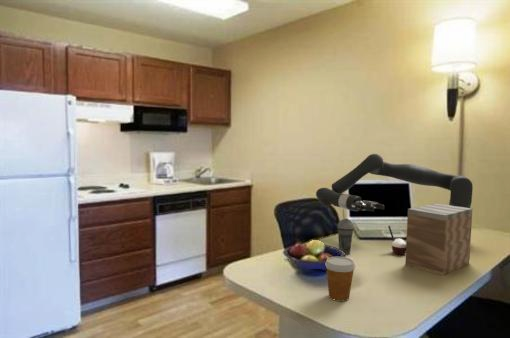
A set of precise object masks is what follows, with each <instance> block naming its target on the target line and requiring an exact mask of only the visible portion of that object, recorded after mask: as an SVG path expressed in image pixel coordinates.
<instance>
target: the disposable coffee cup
mask: <svg viewBox="0 0 510 338" xmlns="http://www.w3.org/2000/svg"><path fill="white" fill-rule="evenodd" d="M326 259H327V260H326V262H325V266H326V269H327V270H326V276H327V277H326V278H327V279H326V280H327V288H328V297H329V296H330V297H329V299H331V298H332V299H331V300H333V299H335V300H334V301H336V300H341V301H340V302H343V301H342V300H346V301H348V300H349V299H350V295H351V294H350V293H351V289H352V281H353V275H354V270H355V269H356V264H355V261H354V260H353V259H351V258H349V257H344V256H331V257H327V258H326ZM347 299H348V300H347Z"/></svg>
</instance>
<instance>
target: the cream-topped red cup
mask: <svg viewBox="0 0 510 338" xmlns="http://www.w3.org/2000/svg"><path fill="white" fill-rule="evenodd" d="M387 227H388V229H389V233H390V236H391V239H392V242H391V249H392V252H393V253H394V254H395V255H399V256H402V255H406V240H404V239H403V238H399V237H398V238H394V234H393V231H392V228H391V226H390V225H388V226H387Z"/></svg>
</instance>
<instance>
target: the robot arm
mask: <svg viewBox="0 0 510 338" xmlns="http://www.w3.org/2000/svg"><path fill="white" fill-rule="evenodd" d="M368 174H371V175H375V176H382V177H390V178H393V179H396V180H398V181H399V180H400V181H404V182H408V183H411V184H416V185H420V186H427V187H428V186H429V187H438V188H440V189H441V188H442V189H445V190H448V191H450V195H449V196H450V198H449V202H448V205H451V206H458V207H465V208H471V207H472V206H471V205H472V201H473V190H474V189H473V182H472V181H471V179H470V178H468V177H466V176H464V175H458V174H452V173H451V174H450V173H444V172H440V171H436V170H434V169H430V168H427V167H424V166H420V165H415V164H406V163H402V164H400V163H399V164H395V163H390V162H386V161H384V159H383V157H382V156H381V155H380V154H378V153H372V154H369V155H368V156H367V157H366V158H365V159H363V160H362V161H361V162H360V163H359V164H358V165H357V166H355V167H354V168H353V169H351V171H349V172H348V173H347V174H345V175H344V176H341V177H339V179H337V180H336V181H335V182H333V183H332V184H331V189H330V188H328V187H320V188H319V189H317V190H316V192H315V197H316V199H317V200H318V201H319V203H320V204H321V206H322V207H326V208H327V207H329V206H332V205H333V206H334V207H337V208H342V209H344V210H349V211H353V212H359V211H368V212H374V211H375V209H378V210H385V205H384V204H381V203H379V201H378V202H377V201H371V200H362V198H361V196H358V195H353V194H347V193H345V192H347V191H348V190H350V189H351V188H352V187H353V186H355V184H356V183H358V181H360V180H361V179H362V178H363V177H365V176H366V175H368Z"/></svg>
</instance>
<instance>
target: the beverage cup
mask: <svg viewBox="0 0 510 338" xmlns="http://www.w3.org/2000/svg"><path fill="white" fill-rule="evenodd" d="M336 228H337V235H338V251H339V250H341V251H343V252H344V253H345V255H344V256H350V255H351V249H352V242H353V241H352V240H353V233H354V229H355V227H354V223H353V222H352V221H351V220H350V219H348V218H346V217H345V209H344V208H342V219H341V220H339V222H338V224H337V226H336Z"/></svg>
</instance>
